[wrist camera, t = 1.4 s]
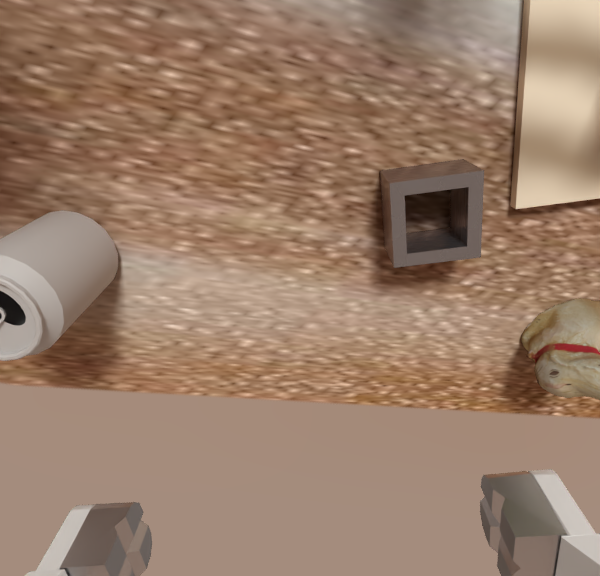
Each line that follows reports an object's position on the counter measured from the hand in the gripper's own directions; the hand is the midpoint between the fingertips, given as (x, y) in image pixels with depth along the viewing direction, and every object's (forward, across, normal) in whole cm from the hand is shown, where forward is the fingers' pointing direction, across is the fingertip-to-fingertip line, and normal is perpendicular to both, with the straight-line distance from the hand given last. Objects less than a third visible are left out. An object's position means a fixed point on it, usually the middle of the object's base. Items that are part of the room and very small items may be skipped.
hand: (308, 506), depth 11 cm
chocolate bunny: (+29, -21, +13) cm, 38 cm away
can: (+28, +20, +1) cm, 35 cm away
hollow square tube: (+28, -9, 0) cm, 30 cm away
